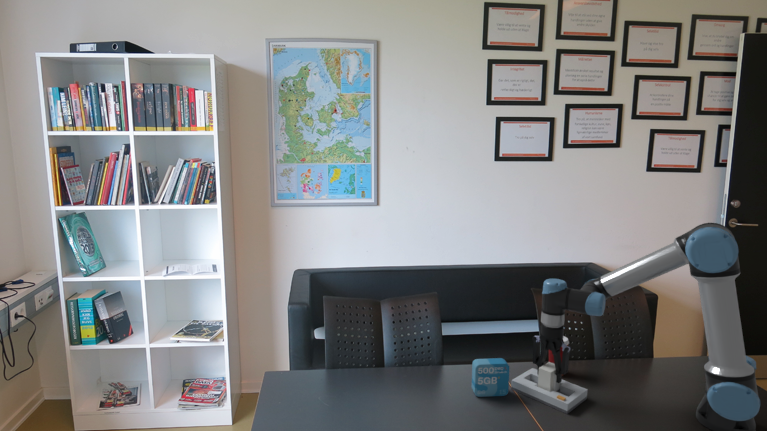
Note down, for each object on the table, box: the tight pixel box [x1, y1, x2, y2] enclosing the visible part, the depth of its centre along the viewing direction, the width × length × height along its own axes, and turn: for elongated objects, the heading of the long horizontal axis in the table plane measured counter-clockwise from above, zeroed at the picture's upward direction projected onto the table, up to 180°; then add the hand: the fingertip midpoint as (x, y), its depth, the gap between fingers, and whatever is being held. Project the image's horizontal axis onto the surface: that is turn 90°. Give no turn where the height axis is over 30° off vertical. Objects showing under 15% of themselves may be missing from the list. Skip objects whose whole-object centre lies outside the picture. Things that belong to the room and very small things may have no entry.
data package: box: [471, 357, 510, 398], centre depth 164 cm, size 12×4×12 cm, turn 94°
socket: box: [510, 367, 588, 415], centre depth 164 cm, size 21×14×4 cm, turn 42°
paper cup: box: [548, 335, 570, 377], centre depth 179 cm, size 8×8×14 cm
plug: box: [538, 361, 560, 392], centre depth 165 cm, size 10×4×8 cm, turn 132°
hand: (548, 387), depth 164 cm, fingers open, 5 cm apart
